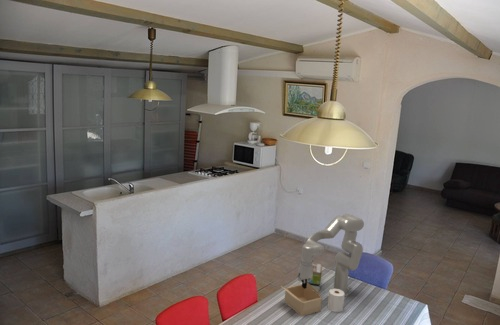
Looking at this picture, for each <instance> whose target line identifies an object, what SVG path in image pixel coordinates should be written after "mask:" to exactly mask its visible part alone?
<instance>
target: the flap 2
mask: <svg viewBox="0 0 500 325" xmlns="http://www.w3.org/2000/svg"><path fill="white" fill-rule="evenodd" d="M307 286H308V287H309V288H311V290H313V291H314V292H315V293H316V294H318V295H319V296H320V297H322V295H321V293H320V290H317V289H315V288H314V287H313V286H311V285H310V284H309V283H307Z"/></svg>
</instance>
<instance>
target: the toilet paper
mask: <svg viewBox="0 0 500 325" xmlns="http://www.w3.org/2000/svg"><path fill="white" fill-rule="evenodd" d="M333 288H334V287H333ZM344 295H345V293H344V292H343V291H342V290H340V289H335V288H334V289H332V288H330V289H329V290H328V299H327V309H328V310H329V311H331V312H333V313H341V312H342V311H344V310H343V309H344V302H345V297H344Z"/></svg>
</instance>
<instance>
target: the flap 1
mask: <svg viewBox="0 0 500 325" xmlns="http://www.w3.org/2000/svg"><path fill="white" fill-rule="evenodd" d="M280 287H281V288H282V289H283V290H286V291H287V292H288V293H289V294H290V295H292V296H293V297H294V298H295V299H297V300H298V301H300V300H299V299H298V298H296V297H295V296H294V295H293V294H292V293H290V292H289V291H288V290H287V289H286V288H285V287H284V286H282V285H280ZM300 302H301V301H300Z"/></svg>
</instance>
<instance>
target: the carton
mask: <svg viewBox="0 0 500 325" xmlns="http://www.w3.org/2000/svg"><path fill="white" fill-rule="evenodd" d="M285 289H287V290H288V291H289V292H290V293H292V294H293V295H294V296H295V297H296V298H298V299H299V300H300V301H301V302H300V301H298V300H297V299H295V298H294V297H293V296H292V295H290V294H289V293H288V292H287V291H286V290H285ZM285 289H284V290H285V291H284V303H286V304H287V306H289V308H291V309H292V311H293V310H295V311H294V312H295V313H297V314H298V316H300V317H304V316H308V314H309V315H311V314H316V313H319V312H322V310H321V307H322V300H323V299H322V296H320V295H318V294H317V293H316V292H314V291H313V290H312V289H310V288H309V287H307V288H305V289H304V288H303V287H302V283H301V284H297V285H293V286H289V287H286V288H285ZM315 312H316V313H315Z"/></svg>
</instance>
